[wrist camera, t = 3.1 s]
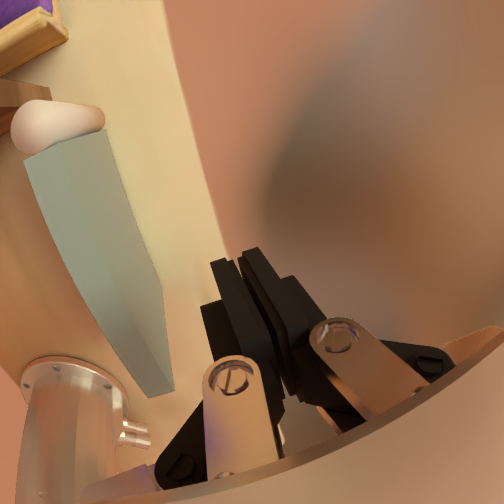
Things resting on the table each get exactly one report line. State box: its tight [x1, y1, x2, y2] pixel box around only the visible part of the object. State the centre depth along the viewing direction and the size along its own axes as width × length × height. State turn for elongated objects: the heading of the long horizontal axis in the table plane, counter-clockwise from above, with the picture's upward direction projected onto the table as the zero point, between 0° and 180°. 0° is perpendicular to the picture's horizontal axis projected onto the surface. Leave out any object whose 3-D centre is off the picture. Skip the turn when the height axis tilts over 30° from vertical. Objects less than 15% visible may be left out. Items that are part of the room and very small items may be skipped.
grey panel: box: [11, 100, 175, 398], centre depth 16 cm, size 2×15×11 cm, turn 12°
